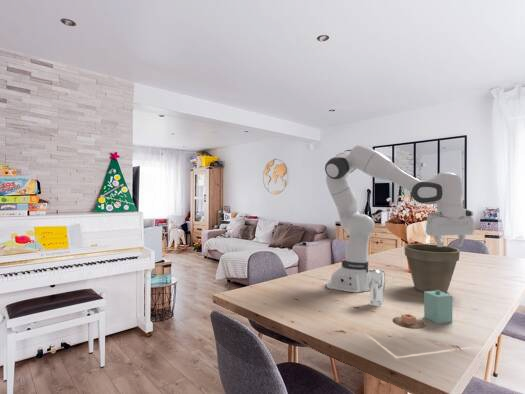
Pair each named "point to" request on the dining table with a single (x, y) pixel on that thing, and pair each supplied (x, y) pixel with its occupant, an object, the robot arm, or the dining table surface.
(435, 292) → the teal knobbed box
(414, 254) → the plant pot
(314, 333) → the dining table surface
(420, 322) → the disc
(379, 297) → the shiny silver metal cup
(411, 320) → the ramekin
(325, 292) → the dining table surface
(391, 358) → the dining table surface
